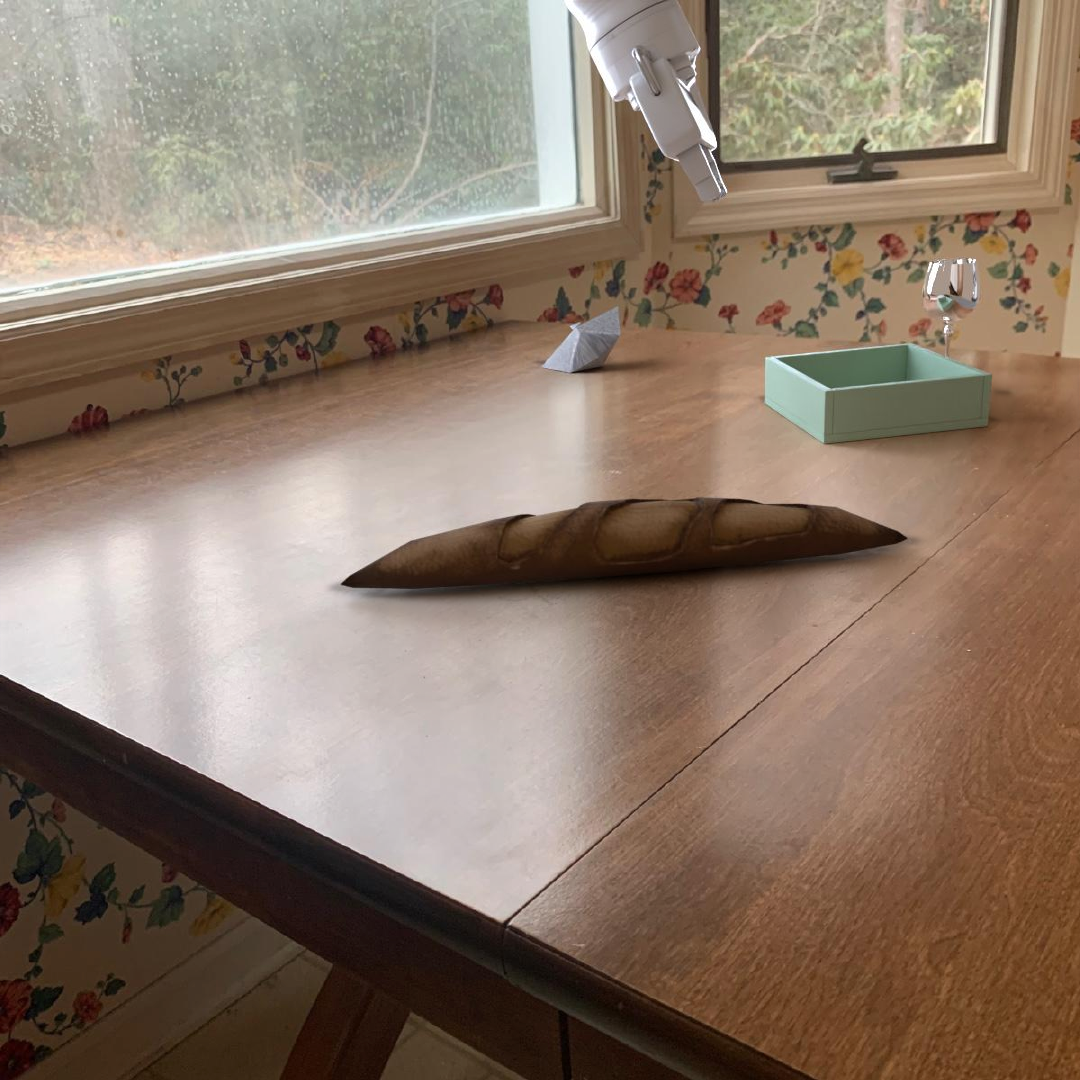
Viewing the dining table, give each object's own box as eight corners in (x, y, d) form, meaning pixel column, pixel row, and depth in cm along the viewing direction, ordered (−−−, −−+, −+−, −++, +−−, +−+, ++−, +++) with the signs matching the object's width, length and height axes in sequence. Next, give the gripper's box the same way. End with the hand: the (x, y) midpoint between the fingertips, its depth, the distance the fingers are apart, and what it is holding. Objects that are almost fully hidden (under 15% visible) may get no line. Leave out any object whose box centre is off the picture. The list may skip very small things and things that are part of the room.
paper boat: (544, 369, 128) (519, 337, 135) (570, 405, 132) (544, 372, 139) (627, 307, 127) (596, 277, 134) (650, 345, 131) (620, 315, 138)
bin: (909, 388, 113) (911, 342, 111) (988, 426, 99) (992, 374, 97) (764, 403, 111) (765, 357, 110) (823, 444, 97) (825, 391, 95)
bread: (337, 610, 70) (327, 538, 68) (346, 580, 75) (336, 511, 73) (921, 563, 71) (925, 490, 69) (893, 536, 76) (897, 467, 74)
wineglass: (978, 370, 119) (987, 257, 114) (968, 382, 114) (977, 265, 110) (924, 367, 122) (930, 257, 117) (911, 379, 117) (918, 264, 113)
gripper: (666, 21, 87) (742, 179, 90) (690, 53, 106) (752, 183, 109) (598, 63, 89) (674, 218, 92) (633, 88, 108) (695, 215, 111)
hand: (716, 199), depth 100 cm, fingers open, 8 cm apart
